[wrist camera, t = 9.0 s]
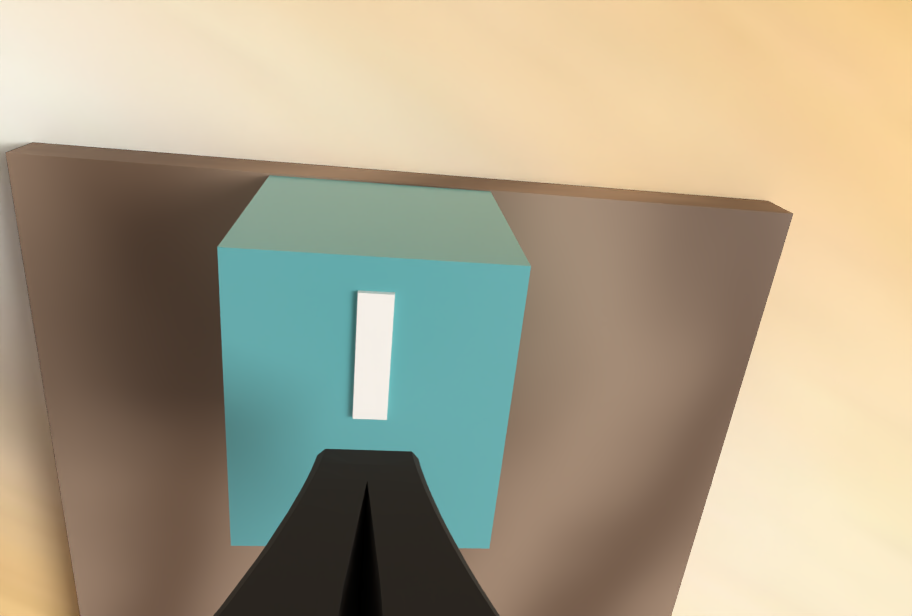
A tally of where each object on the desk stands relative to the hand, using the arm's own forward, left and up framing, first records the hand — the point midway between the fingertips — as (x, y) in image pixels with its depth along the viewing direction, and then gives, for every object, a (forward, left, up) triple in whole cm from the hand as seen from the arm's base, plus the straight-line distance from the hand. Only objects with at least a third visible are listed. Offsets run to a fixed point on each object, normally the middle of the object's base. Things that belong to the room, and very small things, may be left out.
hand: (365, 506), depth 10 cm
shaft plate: (+1, -5, -9) cm, 10 cm away
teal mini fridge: (0, 0, -8) cm, 8 cm away
